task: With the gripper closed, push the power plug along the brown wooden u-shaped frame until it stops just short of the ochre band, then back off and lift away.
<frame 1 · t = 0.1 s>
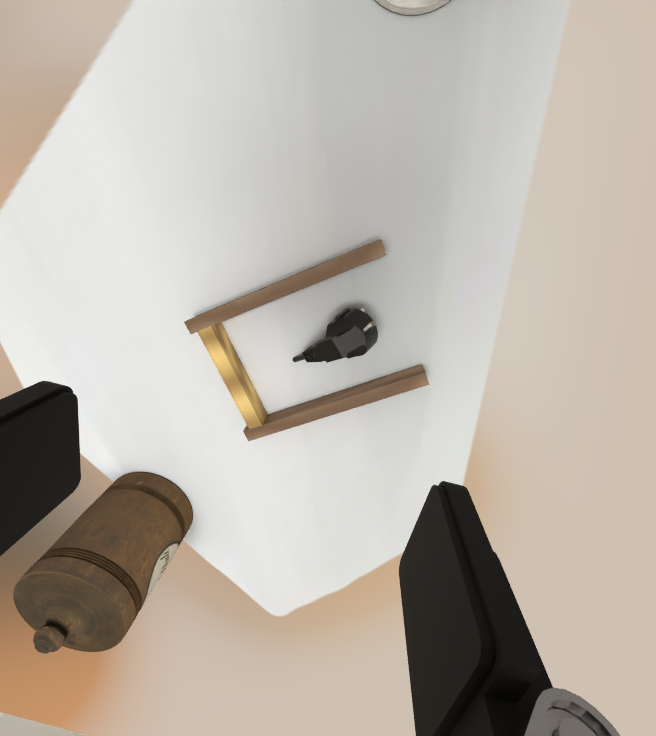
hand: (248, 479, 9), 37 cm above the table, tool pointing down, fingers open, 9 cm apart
power plug: (332, 337, 47), on the table
wooden container: (152, 506, 60), on the table
brown wooden u-shaped frame: (309, 346, 47), on the table
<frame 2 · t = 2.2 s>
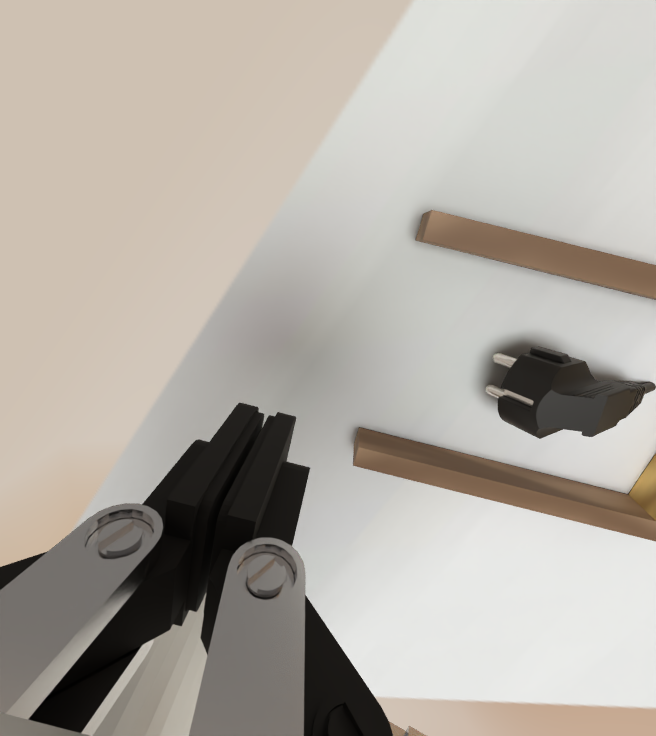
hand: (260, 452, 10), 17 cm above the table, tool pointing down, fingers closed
power plug: (562, 377, 27), on the table
brown wooden u-shaped frame: (551, 384, 26), on the table
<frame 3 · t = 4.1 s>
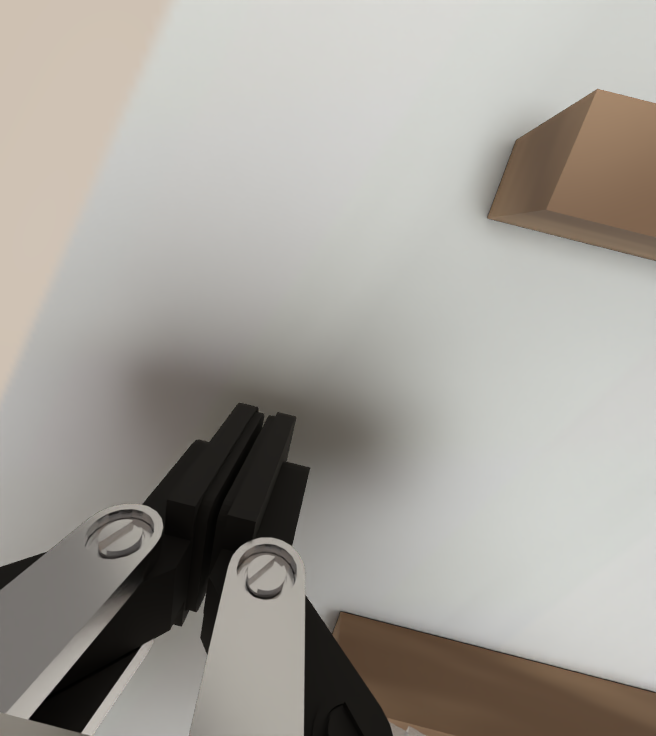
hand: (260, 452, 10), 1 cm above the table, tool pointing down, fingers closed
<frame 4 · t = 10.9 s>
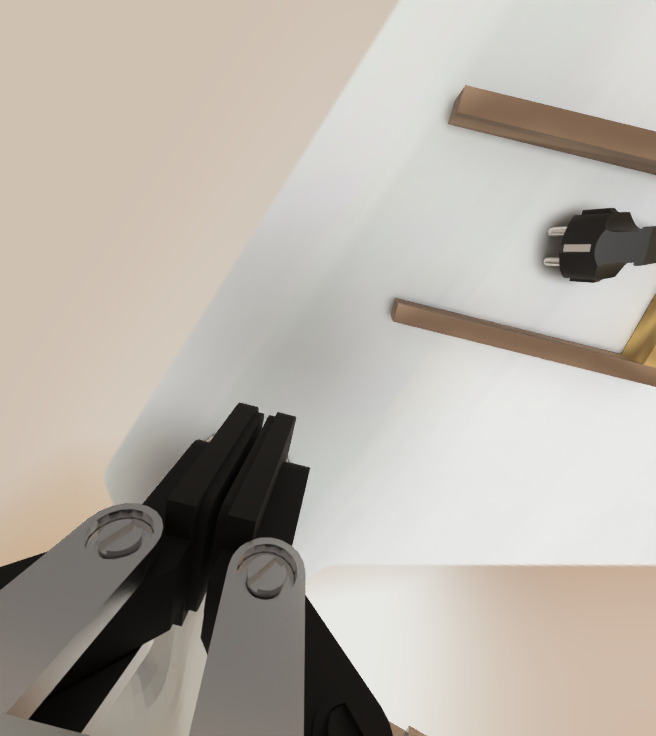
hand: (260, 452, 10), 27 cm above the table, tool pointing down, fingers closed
power plug: (608, 243, 32), on the table
brown wooden u-shaped frame: (557, 252, 32), on the table
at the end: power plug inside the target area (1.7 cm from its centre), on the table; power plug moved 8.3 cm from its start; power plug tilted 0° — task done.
